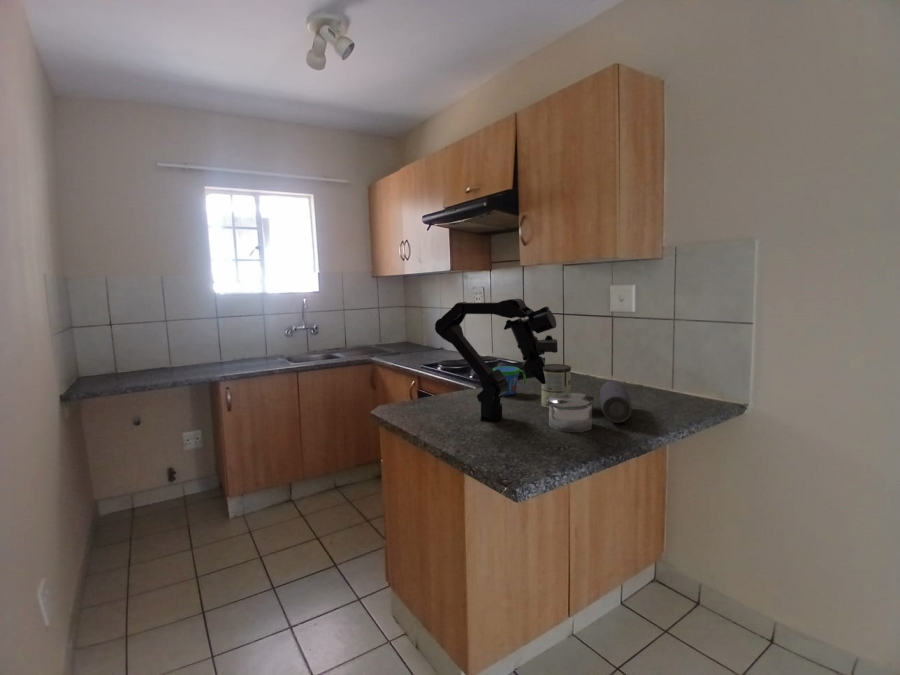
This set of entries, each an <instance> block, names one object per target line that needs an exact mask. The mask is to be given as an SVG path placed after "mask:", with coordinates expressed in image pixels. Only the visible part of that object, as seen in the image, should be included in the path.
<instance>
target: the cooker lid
mask: <svg viewBox="0 0 900 675" xmlns="http://www.w3.org/2000/svg"><path fill="white" fill-rule="evenodd" d="M593 401H594V395H593V394H592V392H591V390H585V393H578V392H570V393H562V394H556V395H552V396H550V397H547V398H546V402H547V405H552V406H555V407H560V408H580V407H586V406H589V405H591V404H592V405H593Z"/></svg>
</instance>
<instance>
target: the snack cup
mask: <svg viewBox="0 0 900 675" xmlns="http://www.w3.org/2000/svg"><path fill="white" fill-rule="evenodd" d="M497 369H499V370H500V371H501V372H502V374H503V375H504V376H505V377H507V379H506V380H507V382H508V390H507V391H506V392H505V393H504V395H503V396H513V395H515V394H516V393H517V389H518V388H517V387H518V381H519V380H518V379H519V375H520V373H522V376H523V386H525V385H526V384H527V377H526V376H527V375H526V373H525V372H524V370H522V369H520V368H519V367H517V366H508V365H507V366H506V365H505V366H495V367H494V368H492V370H494V371H495V370H497Z"/></svg>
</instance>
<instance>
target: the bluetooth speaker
mask: <svg viewBox="0 0 900 675" xmlns="http://www.w3.org/2000/svg"><path fill="white" fill-rule="evenodd" d="M599 405H600V406H599V407H600V409H601V412H602V414H603V415H604V417H605V418H606V419H607V420H609V421H610V422H612V423H616V424H617V423H618V424H619V423H623V422H625V421H627V420H628V419H629V418H630V417H631V415H632V412H633V411H632V406H633V405H632V400H631V398H630V394H629V393H628V389H627V388H626V387H625V385H624V384H622V383H621V382H620V381H618V380H608V381H606V382H605V383H603V384H602V385H601V387H600V390H599Z"/></svg>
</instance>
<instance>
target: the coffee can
mask: <svg viewBox="0 0 900 675" xmlns="http://www.w3.org/2000/svg"><path fill="white" fill-rule="evenodd" d="M571 369H572V366H570V365H568V364H561V363H548V364H545V366H544V367H543V370H544V375H545V380H546V384H542V383H541V398H540V399H541V402H540V403H541V406H542V407H544V408H546V409H549V405H547V402H546V398H547V397H550V396H552V395H556V394H562V393H571V372H572V371H571Z"/></svg>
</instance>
